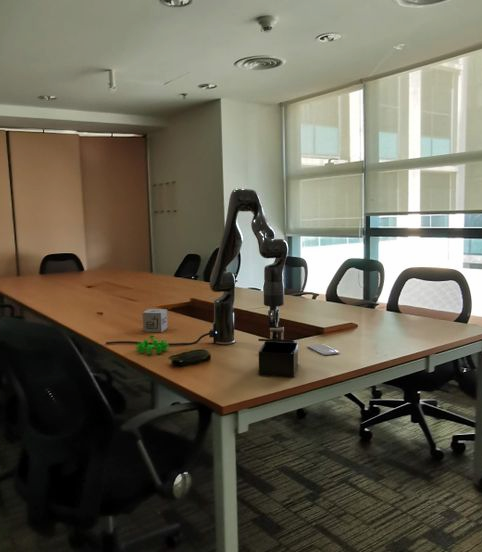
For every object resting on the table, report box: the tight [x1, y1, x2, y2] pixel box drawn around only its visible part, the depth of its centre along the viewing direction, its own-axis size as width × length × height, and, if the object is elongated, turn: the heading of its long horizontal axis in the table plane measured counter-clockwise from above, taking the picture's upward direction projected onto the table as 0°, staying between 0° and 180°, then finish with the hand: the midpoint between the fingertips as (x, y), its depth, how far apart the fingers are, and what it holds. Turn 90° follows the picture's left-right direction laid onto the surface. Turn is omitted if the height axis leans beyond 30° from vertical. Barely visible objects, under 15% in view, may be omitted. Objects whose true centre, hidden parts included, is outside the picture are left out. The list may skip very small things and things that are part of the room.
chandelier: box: [135, 334, 170, 356], centre depth 217 cm, size 15×15×7 cm
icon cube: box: [142, 308, 168, 333], centre depth 258 cm, size 10×10×10 cm
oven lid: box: [257, 326, 299, 344], centre depth 186 cm, size 17×13×5 cm
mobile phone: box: [307, 343, 339, 356], centre depth 213 cm, size 8×1×15 cm
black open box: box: [258, 341, 299, 378], centre depth 187 cm, size 16×13×9 cm
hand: (274, 338), depth 185 cm, fingers closed
